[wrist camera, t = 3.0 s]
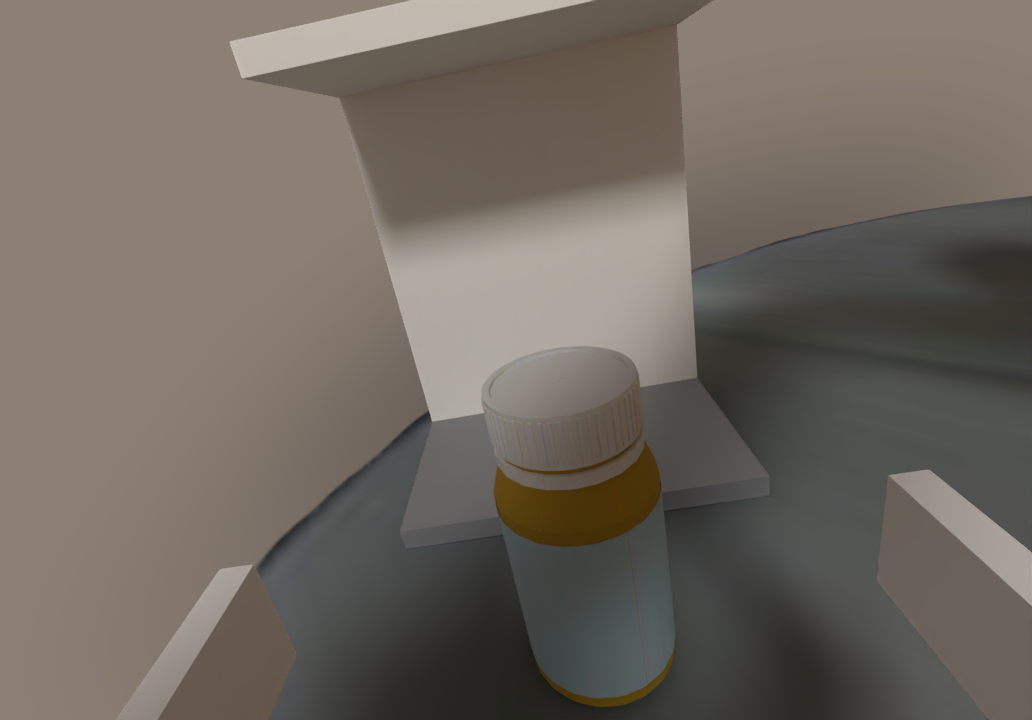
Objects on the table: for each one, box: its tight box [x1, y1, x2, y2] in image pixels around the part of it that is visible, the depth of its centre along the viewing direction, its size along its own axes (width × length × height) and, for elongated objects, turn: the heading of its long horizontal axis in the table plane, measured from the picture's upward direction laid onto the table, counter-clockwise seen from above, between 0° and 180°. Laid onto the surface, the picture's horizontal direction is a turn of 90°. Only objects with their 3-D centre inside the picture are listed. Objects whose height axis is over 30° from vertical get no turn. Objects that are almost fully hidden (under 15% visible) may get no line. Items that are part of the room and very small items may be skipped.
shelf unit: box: [230, 0, 770, 549], centre depth 36 cm, size 16×24×30 cm, turn 90°
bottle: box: [481, 346, 676, 707], centre depth 23 cm, size 7×7×15 cm
